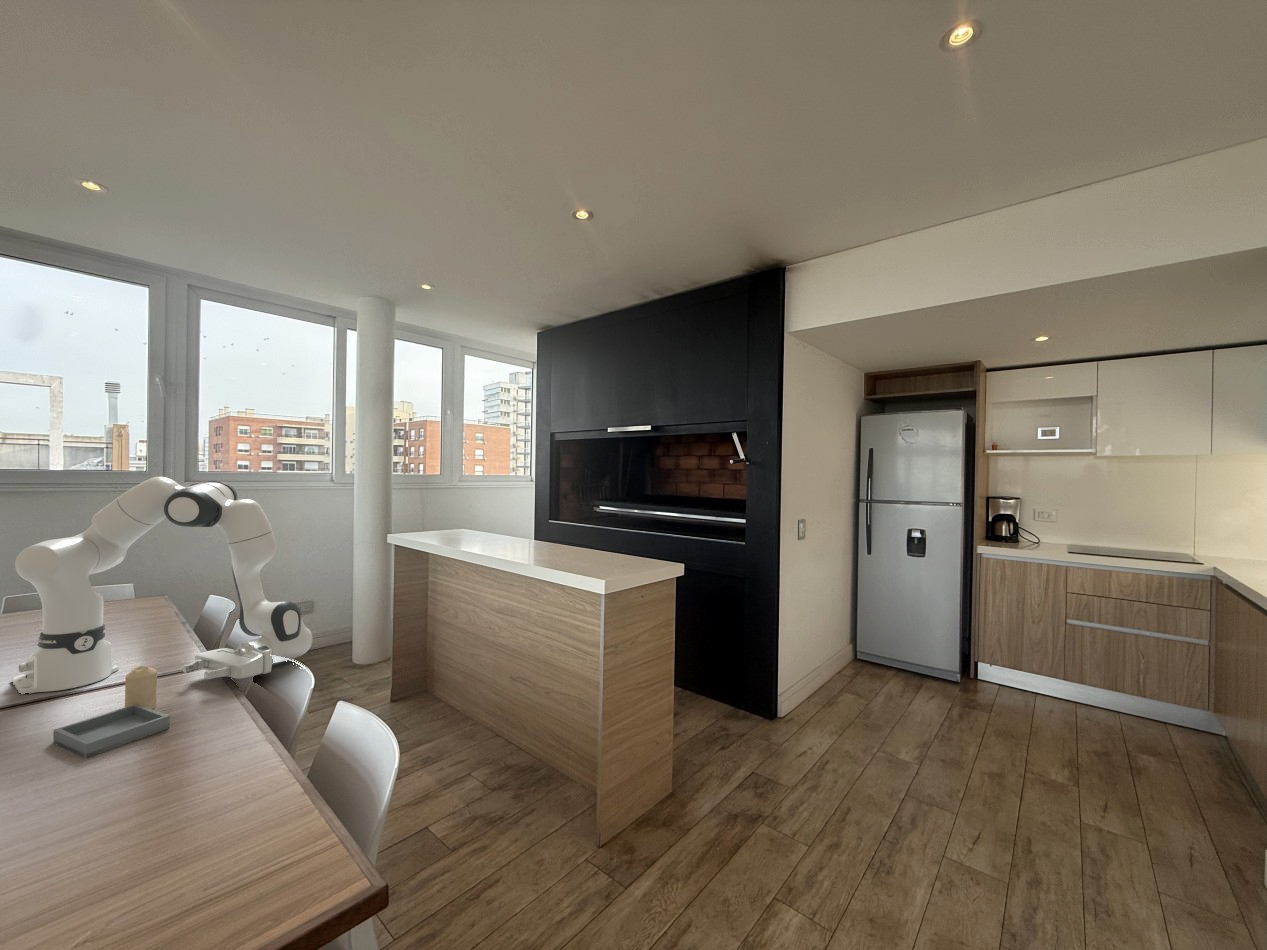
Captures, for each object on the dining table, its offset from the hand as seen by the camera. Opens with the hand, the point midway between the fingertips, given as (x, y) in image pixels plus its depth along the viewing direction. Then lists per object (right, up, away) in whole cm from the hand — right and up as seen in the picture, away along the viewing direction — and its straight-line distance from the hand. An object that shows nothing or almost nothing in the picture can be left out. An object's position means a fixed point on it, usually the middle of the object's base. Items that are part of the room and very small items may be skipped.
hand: (194, 672), depth 134 cm
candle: (-4, -5, -10) cm, 12 cm away
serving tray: (+1, -5, -22) cm, 23 cm away
